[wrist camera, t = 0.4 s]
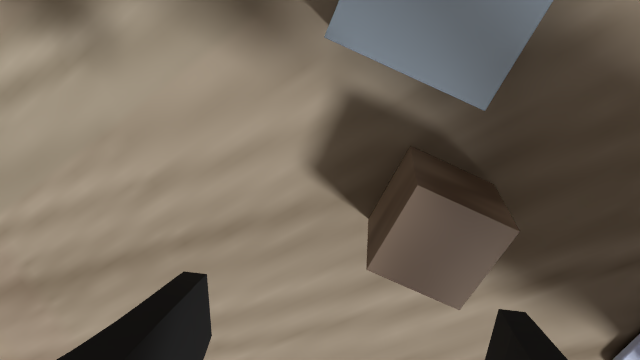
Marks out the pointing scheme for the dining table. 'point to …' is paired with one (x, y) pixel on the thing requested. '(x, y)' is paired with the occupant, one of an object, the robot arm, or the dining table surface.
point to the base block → (441, 39)
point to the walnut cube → (438, 229)
